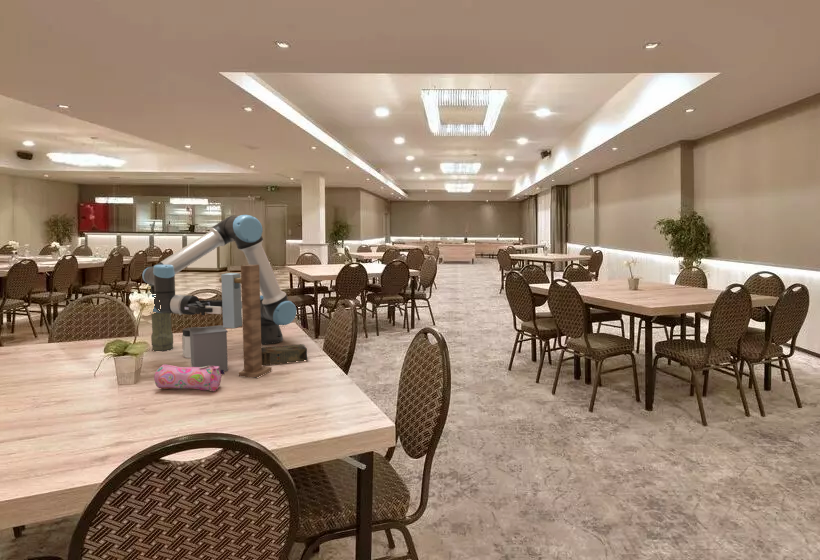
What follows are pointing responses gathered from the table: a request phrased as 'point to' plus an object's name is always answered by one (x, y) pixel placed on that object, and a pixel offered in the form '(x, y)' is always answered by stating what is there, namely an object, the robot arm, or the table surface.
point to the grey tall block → (231, 301)
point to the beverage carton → (283, 354)
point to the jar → (186, 342)
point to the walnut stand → (251, 321)
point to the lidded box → (209, 347)
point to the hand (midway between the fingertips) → (232, 307)
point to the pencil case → (188, 377)
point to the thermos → (161, 330)
